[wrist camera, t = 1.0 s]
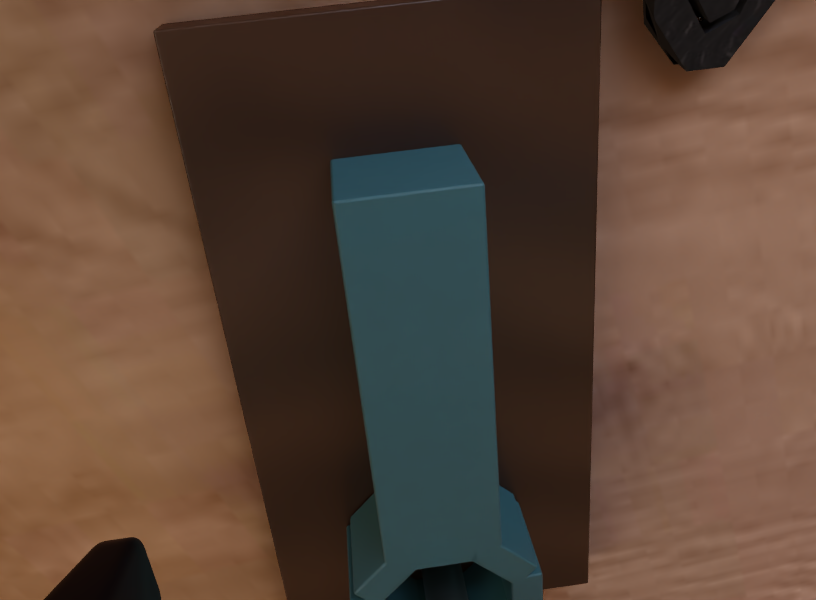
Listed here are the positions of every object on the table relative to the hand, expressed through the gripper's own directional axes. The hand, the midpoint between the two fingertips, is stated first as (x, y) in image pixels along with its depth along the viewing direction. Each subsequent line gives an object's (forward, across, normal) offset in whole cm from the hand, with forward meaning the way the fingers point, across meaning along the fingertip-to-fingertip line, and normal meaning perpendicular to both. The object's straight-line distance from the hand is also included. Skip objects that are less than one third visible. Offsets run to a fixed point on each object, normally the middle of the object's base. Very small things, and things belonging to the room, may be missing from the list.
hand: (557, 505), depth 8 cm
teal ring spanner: (+12, +1, +7) cm, 14 cm away
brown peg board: (+13, +1, +6) cm, 14 cm away
